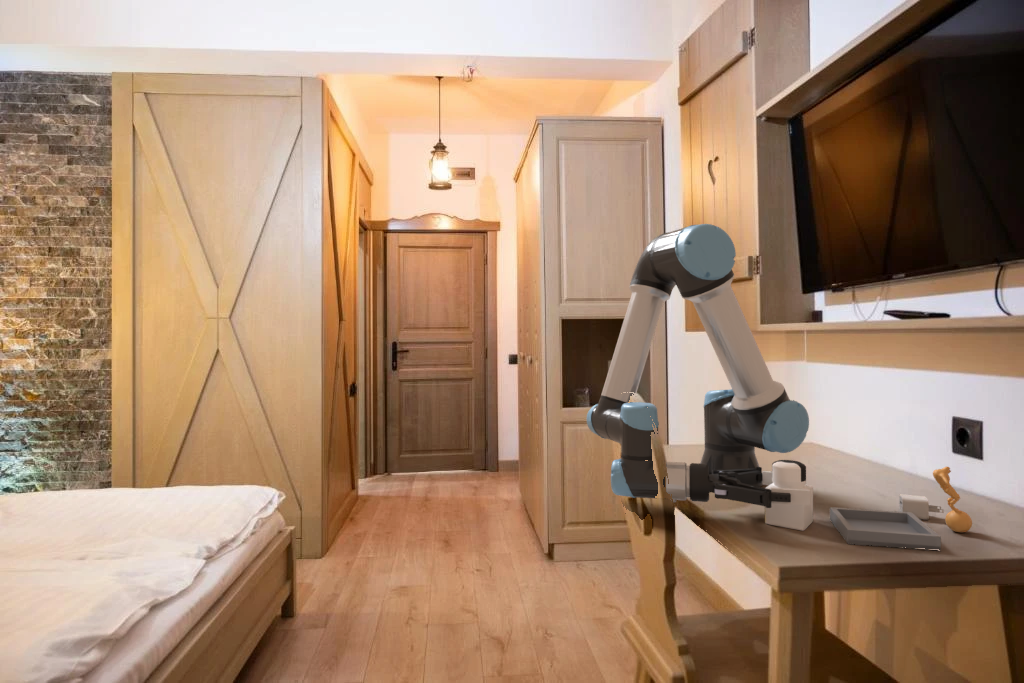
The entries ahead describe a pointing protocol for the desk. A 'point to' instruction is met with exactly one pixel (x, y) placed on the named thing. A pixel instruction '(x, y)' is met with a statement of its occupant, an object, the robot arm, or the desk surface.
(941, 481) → the figurine
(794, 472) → the medicine bottle
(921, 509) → the usb wall charger
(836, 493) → the desk surface
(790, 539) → the desk surface
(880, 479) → the desk surface
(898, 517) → the tray
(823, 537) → the desk surface
